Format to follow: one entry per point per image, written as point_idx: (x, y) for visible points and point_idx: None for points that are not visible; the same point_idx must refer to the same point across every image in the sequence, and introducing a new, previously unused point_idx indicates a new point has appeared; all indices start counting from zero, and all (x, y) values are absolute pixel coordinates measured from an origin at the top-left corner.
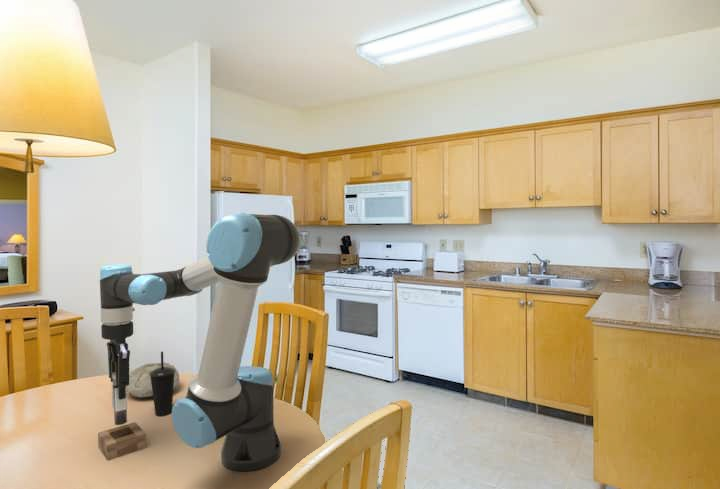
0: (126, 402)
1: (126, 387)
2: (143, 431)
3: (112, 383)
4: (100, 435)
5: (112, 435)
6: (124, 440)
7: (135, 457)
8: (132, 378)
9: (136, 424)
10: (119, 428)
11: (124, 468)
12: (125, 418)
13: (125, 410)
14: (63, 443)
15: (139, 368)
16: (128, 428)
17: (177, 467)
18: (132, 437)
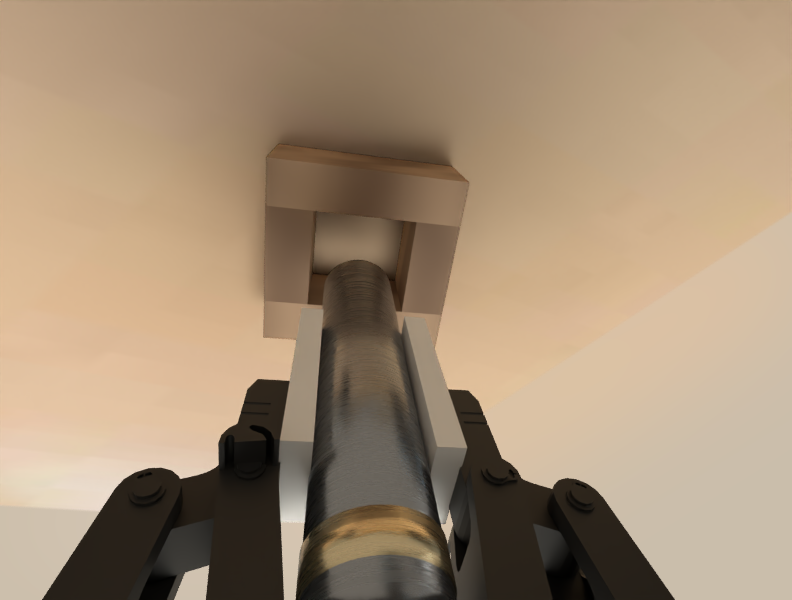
0: (433, 349)
1: (460, 432)
2: (437, 181)
3: (291, 516)
4: None
5: (309, 282)
6: (446, 281)
7: (494, 235)
8: None
9: (311, 168)
10: (293, 253)
11: (535, 294)
12: (390, 288)
13: (393, 311)
14: (126, 382)
15: None
16: (313, 212)
17: (722, 156)
18: (454, 248)
